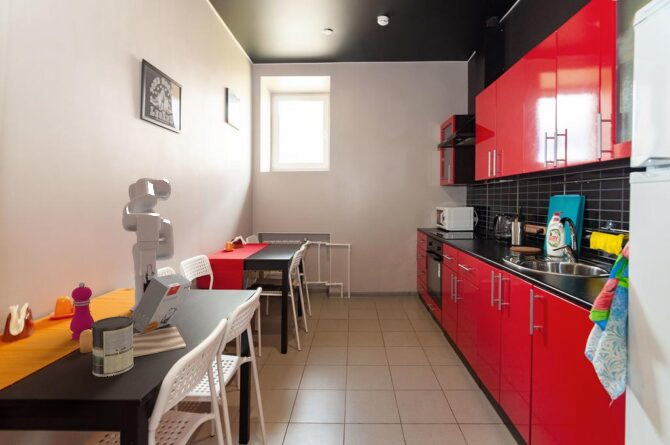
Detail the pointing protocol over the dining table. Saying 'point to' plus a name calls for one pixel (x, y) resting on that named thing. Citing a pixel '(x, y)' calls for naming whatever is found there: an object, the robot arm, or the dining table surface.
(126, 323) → the coffee can
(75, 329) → the pepper mill
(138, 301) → the robot arm
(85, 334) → the salt shaker
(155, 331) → the board
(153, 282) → the hard drive box
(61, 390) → the dining table surface
